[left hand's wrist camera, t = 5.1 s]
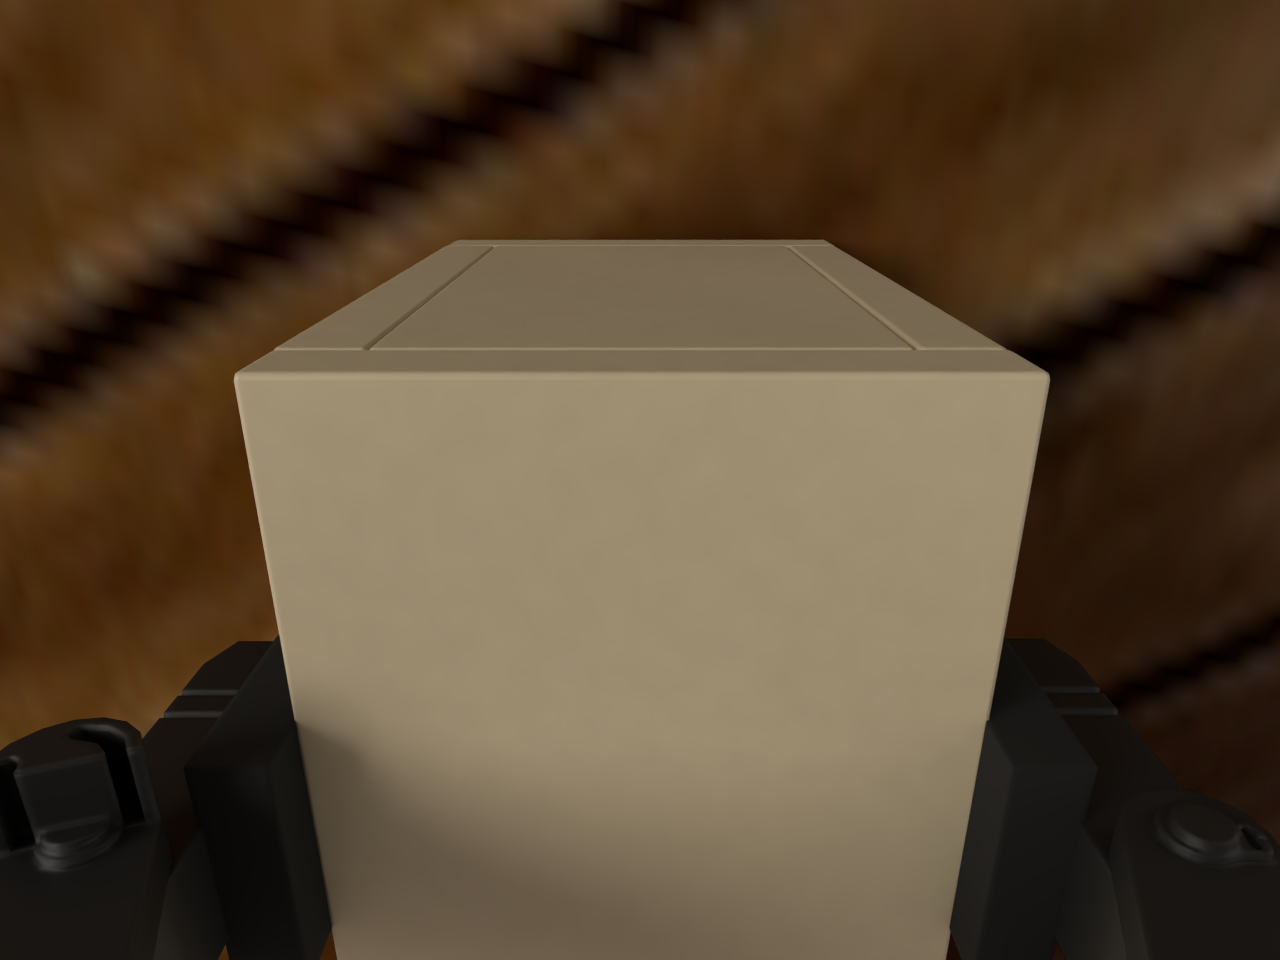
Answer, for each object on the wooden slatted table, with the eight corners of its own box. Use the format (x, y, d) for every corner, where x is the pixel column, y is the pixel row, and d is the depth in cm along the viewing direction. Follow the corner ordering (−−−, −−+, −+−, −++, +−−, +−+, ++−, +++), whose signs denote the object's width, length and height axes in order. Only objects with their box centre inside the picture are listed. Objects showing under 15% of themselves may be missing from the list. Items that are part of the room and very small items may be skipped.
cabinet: (764, 1053, 24) (835, 1582, 15) (517, 1054, 24) (447, 1583, 15) (826, 239, 16) (1055, 372, 7) (454, 239, 16) (229, 372, 7)
